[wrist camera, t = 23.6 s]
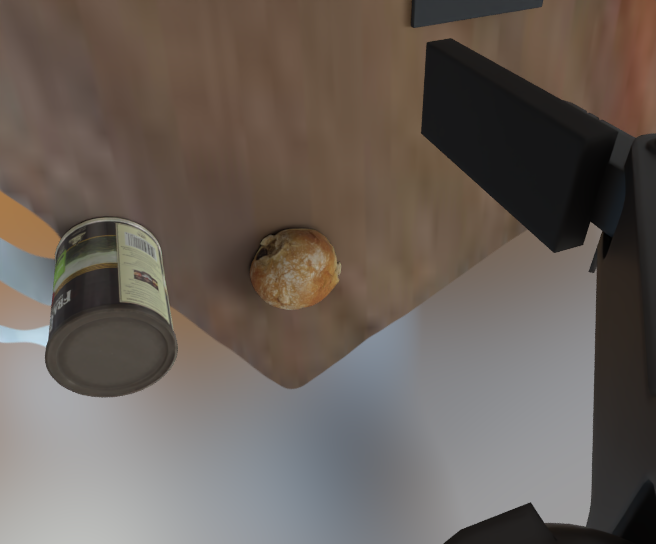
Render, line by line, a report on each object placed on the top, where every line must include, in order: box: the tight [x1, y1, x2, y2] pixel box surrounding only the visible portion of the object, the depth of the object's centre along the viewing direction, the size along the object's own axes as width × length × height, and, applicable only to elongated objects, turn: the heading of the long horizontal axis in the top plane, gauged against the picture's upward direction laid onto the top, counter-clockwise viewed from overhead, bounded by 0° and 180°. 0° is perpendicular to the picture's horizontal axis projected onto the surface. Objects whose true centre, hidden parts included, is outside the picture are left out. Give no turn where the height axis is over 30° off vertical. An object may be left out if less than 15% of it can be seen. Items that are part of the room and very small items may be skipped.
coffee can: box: [45, 217, 178, 397], centre depth 50 cm, size 10×10×14 cm
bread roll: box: [250, 228, 341, 310], centre depth 61 cm, size 10×10×8 cm
